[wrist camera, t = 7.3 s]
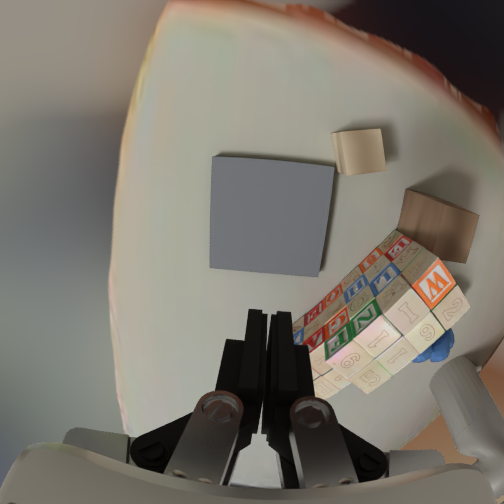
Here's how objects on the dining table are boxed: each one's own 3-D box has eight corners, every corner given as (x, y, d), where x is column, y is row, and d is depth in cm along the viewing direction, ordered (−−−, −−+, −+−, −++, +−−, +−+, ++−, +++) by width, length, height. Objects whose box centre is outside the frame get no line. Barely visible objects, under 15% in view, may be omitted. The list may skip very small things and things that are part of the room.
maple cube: (366, 130, 24) (380, 128, 20) (371, 167, 26) (386, 170, 22) (330, 133, 25) (339, 132, 21) (336, 171, 26) (347, 175, 22)
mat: (331, 166, 26) (334, 167, 25) (316, 272, 30) (318, 277, 29) (214, 156, 26) (212, 156, 25) (211, 263, 31) (209, 267, 30)
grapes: (353, 323, 33) (364, 383, 22) (372, 278, 31) (397, 327, 20) (421, 340, 32) (448, 395, 20) (442, 300, 30) (481, 347, 18)
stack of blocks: (302, 367, 35) (294, 435, 23) (270, 341, 35) (251, 407, 23) (424, 263, 28) (473, 307, 16) (395, 227, 28) (441, 256, 16)
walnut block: (438, 197, 26) (479, 215, 18) (429, 237, 28) (465, 263, 20) (405, 188, 26) (445, 204, 19) (396, 231, 28) (430, 258, 20)
